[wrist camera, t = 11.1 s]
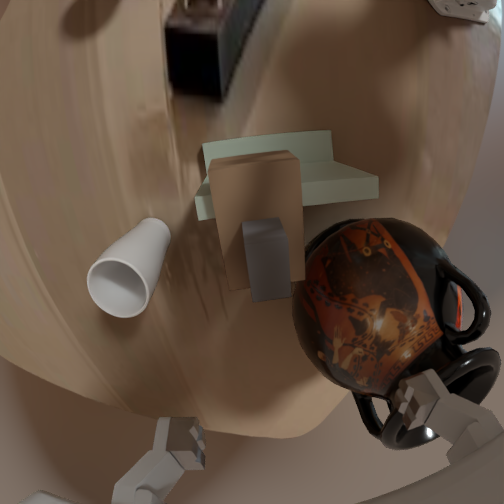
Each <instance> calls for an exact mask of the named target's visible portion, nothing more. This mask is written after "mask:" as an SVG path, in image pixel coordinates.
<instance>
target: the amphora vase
mask: <svg viewBox="0 0 504 504" xmlns="http://www.w3.org/2000/svg"><path fill="white" fill-rule="evenodd" d="M461 288H462V289H463V290H464V291H465V293H466V294H467V296H468V297H469V298H470V300H471V301H472V303H473V306H474V309H475V317H474V320H473V322H472V324H471V326H470V327H469V328H468V329H467V330H465V331H461V330H462V322H463V310H464V306H463V297H462V290H461ZM292 316H293V320H294V325H295V329H296V332H297V336H298V339H299V342H300V345H301V347H302V348H303V350H304V352H305V353H306V355H307V356H308V358H309V359H310V360H311V362H312V363H313V364H314V365H315V367H316V368H317V369H318V370H319V371H320V372H321V373H322V374H323V376H324V377H326V378H327V379H329V380H330V381H331V382H333V383H334V384H336V385H339V386H341V387H343V388H346V389H348V390H351V392H352V394H353V397H354V399H355V402H356V404H357V407H358V409H359V412H360V415H361V418H362V421H363V423H364V424H365V426H366V428H367V430H368V431H369V433H370V434H371V435H373V436H374V437H375V438H377V439H379V440H380V441H381V442H382V443H383V445H384V446H385V447H386V448H389V449H393V450H407V449H411V448H415V447H419V446H421V445H424V444H426V443H428V442H431V441H433V440H434V439H436V438H438V437H440V435H438V434H437V433H435V432H434V431H432V430H431V429H429V428H428V427H426V426H425V425H424V424H423V425H421V426H418V427H416V428H413V429H410V430H407V428H406V426H405V424H404V422H403V420H402V417H403V414H402V413H400V412H399V411H398V410H397V408H396V405H395V393H396V391H397V390H398V389H399V388H400V387H399V382H400V380H402V379H404V378H407V377H409V376H412V375H415V374H417V373H420V372H424V371H426V370H429V369H433V370H434V371H435V372H436V374H437V375H438V377H439V378H440V380H441V381H442V383H443V384H444V385H445V387H446V388H447V390H448V391H449V393H450V394H452V393H454V394H456V395H458V396H460V397H462V398H464V399H467V400H469V401H471V402H473V403H475V404H477V405H480V403H481V402H482V401H483V399H485V397H486V396H487V395H488V393H489V392H490V390H491V388H492V387H493V386H494V384H495V381H496V379H497V377H498V375H499V371H500V365H501V359H500V356H499V353H498V352H497V351H495V350H494V349H492V348H490V347H487V348H477V349H474V350H472V351H469V352H467V351H465V350H464V349H463V348H462V345H464V344H467V343H470V342H472V341H475V340H477V339H479V338H480V337H481V336H482V335H483V334H484V333H485V331H486V329H487V328H488V326H489V322H490V316H491V310H490V306H489V303H488V299H487V296H486V295H485V294H484V293H483V292H482V290H481V289H480V288H479V287H478V286H477V285H476V283H474V282H473V281H472V280H471V279H470V278H469V277H468V276H466V275H465V274H464V273H463V272H462V271H460V270H459V269H458V268H457V267H455V266H454V265H453V264H452V263H451V262H450V260H449V258H448V256H447V255H446V253H445V251H444V250H443V249H442V248H441V246H440V245H439V244H438V243H437V242H436V241H435V240H434V239H433V238H432V237H430V236H429V235H428V234H427V233H425V232H424V231H423V230H422V229H420V228H418V227H416V226H414V225H413V224H411V223H408V222H405V221H402V220H398V219H395V218H370V219H349V220H346V221H342V222H339V223H336V224H334V225H333V226H331V227H329V228H328V229H326V230H325V231H323V232H322V233H321V234H320V235H319V236H318V237H317V238H316V239H315V240H314V241H313V242H312V243H311V245H310V247H309V248H308V250H307V251H306V253H305V280H301V281H297V284H296V287H295V291H294V294H293V309H292ZM372 397H376V398H379V399H383V400H385V401H386V402H387V404H388V408H389V410H390V414H389V416H388V417H387V419H386V421H385V423H384V425H383V424H382V422H381V421H380V419H379V418H378V416H377V414H376V411H375V408H374V405H373V402H372Z"/></svg>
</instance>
